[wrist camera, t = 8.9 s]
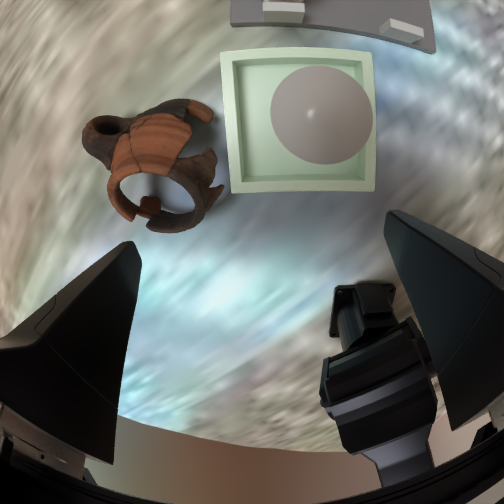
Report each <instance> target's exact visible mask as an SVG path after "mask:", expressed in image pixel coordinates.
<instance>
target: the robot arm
mask: <svg viewBox="0 0 504 504" xmlns="http://www.w3.org/2000/svg"><path fill="white" fill-rule="evenodd" d="M384 237H385V240H386V243H387V245H388V248H389V251H390V253H391V256H392V259H393V262H394V265H395V267H396V270H397V272H398V275H399V277H400V279H401V281H402V284H403V286H404V288H405V290H406V293H407V295H408V297H409V300H410V302H411V304H412V307H413V309H414V312H415V314H416V317H417V319H418V322H419V324H420V327H421V329H422V332H423V335H424V337H423V335H422V334H421V332H420V330H419V329H418V327H417V325H416V324H415V322H414V320H413V319H412V317H411V316H410V317H408V318H406V320H405V321H403V322H401V323H400V324H399V322H398V320H397V318H396V316H395V314H394V312H393V308H392V303H393V299H394V295H395V291H396V288H395V286H394V285H393V284H368V285H356V286H339V287H336V288H335V290H334V297H333V306H332V314H331V321H330V328H329V335H330V337H333V338H334V337H340V340H341V345H342V350H343V352H342V353H339V354H337V355H335V356H333V357H328V358H326V359H324V360H323V367H322V375H321V383H320V390H319V395H320V397H321V400H320V404H321V406H322V407H324V408H325V410H326V412H327V413H328V415H329V416H330V418H331V419H333V420H335V421H336V424H337V427H338V430H339V434H340V438H341V442H342V445H343V447H344V448H345V449H346V450H347V451H348V452H349V453H350V454H351V455H356V454H359V453H361V454H362V455H364V456H365V457H366V458H368V459H369V460H371V461H373V462H374V463H375V465H376V469H377V472H378V475H379V479H380V482H381V486H382V488H379V489H376V490H372V491H369V492H366V493H361V494H358V495H353V496H350V497H345V498H341V499H336V500H330V501H325V502H319V503H313V504H504V263H503V262H501V261H499V260H498V259H496V258H494V257H492V256H490V255H488V254H486V253H485V252H483V251H481V250H479V249H477V248H475V247H473V246H472V245H470V244H468V243H466V242H464V241H462V240H460V239H458V238H456V237H455V236H453V235H451V234H449V233H447V232H445V231H443V230H441V229H439V228H436V227H434V226H432V225H430V224H428V223H426V222H424V221H422V220H420V219H417V218H415V217H413V216H411V215H409V214H406V213H404V212H402V211H399V210H389V211H388V212H387V214H386V219H385V226H384ZM141 268H142V260H141V257H140V255H139V253H138V250H137V248H136V245H135V243H134V242H133V241H126V242H122V243H121V244H119V245H118V246H116V247H115V248H114V249H112V250H111V251H110V252H108V253H107V254H106V255H104V256H103V257H102V258H100V259H99V260H98V261H96V262H95V263H94V264H93V265H91V266H90V267H89V268H87V269H86V270H85V271H84V272H82V273H81V274H80V275H79V276H77V277H76V278H75V279H74V280H72V281H71V282H70V283H69V284H67V285H66V286H65V287H64V288H63V289H61V290H60V291H59V292H58V293H57V295H54V296H53V297H52V298H51V299H50V300H48V301H47V302H46V303H45V304H44V305H42V306H41V307H40V308H39V309H38V310H36V311H35V312H34V313H33V314H32V315H30V316H29V317H28V318H27V319H25V320H24V321H23V322H22V323H21V324H19V325H18V326H17V327H16V328H15V329H13V330H12V331H11V332H10V333H9V334H7V335H6V336H4V337H2V338H0V504H173V503H167V502H161V501H155V500H150V499H145V498H141V497H136V496H132V495H128V494H124V493H121V492H117V491H114V490H110V489H107V488H104V487H101V486H98V485H97V483H96V482H95V480H94V479H93V477H92V475H91V474H90V472H89V470H88V469H87V468H84V465H85V459H86V458H89V459H92V460H95V461H99V462H102V463H106V464H110V465H113V462H114V447H115V433H116V423H117V413H118V409H117V408H118V403H119V396H120V388H121V381H122V375H123V368H124V362H125V357H126V351H127V346H128V340H129V335H130V330H131V325H132V321H133V316H134V312H135V307H136V302H137V297H138V290H139V282H140V275H141ZM391 288H392V289H391ZM390 289H391V290H390ZM338 291H341V292H340V293H338ZM424 338H425V339H424ZM425 340H426V341H425ZM435 376H437V377H438V380H439V384H440V387H441V391H442V394H443V398H444V402H445V406H446V410H447V414H448V418H449V422H450V427H451V430H452V431H455V430H457V429H459V428H460V427H462V426H464V425H466V424H468V423H470V422H472V421H474V420H475V419H477V418H479V417H481V416H482V415H484V414H486V413H488V412H489V415H490V418H491V422H489V423H488V424H486V425H484V426H483V427H482V428H480V429H479V430H477V433H476V436H475V438H474V441H473V443H472V446H471V448H470V450H468V451H466V452H464V453H463V454H461V455H459V456H457V457H455V458H453V459H451V460H449V461H447V462H445V463H443V464H441V465H439V466H437V467H435V465H434V461H433V457H432V453H431V449H430V446H429V442H428V438H429V434H430V431H431V427H432V424H433V423H434V422H435V417H436V412H437V404H438V400H437V397H436V394H435V391H434V388H433V385H432V382H431V379H432V378H433V377H435Z"/></svg>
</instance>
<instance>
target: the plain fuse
mask: <svg viewBox="0 0 504 504" xmlns="http://www.w3.org/2000/svg"><path fill="white" fill-rule="evenodd" d="M261 1H262V2H289V3H303V2H304V1H305V0H261Z"/></svg>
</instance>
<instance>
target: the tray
mask: <svg viewBox="0 0 504 504" xmlns="http://www.w3.org/2000/svg"><path fill="white" fill-rule="evenodd" d="M220 62H221V75H222V88H223V101H224V114H225V126H226V138H227V149H228V161H229V172H230V183H231V193H232V194H234V193H255V192H286V191H367V192H374V191H375V171H376V107H375V88H374V75H373V64H372V54H371V52H363V51H355V50H345V49H332V48H312V47H280V48H259V49H246V50H236V51H227V52H220ZM317 65H321V66H329V67H333V68H336V69H339V70H341V71H343V72H345V73H347V74H348V75H350V76H351V77H353V78H354V79H355V80H356V81H357V82H358V83H359V84H360V85H361V86H362V88H363V89H364V91H365V92H366V94H367V96H368V98H369V100H370V103H371V106H372V111H373V125H372V130H371V134H370V136H369V138H368V141H367V142H366V144H365V145H364V147H363V148H362V149H361V150H360V151H359V152H358V153H357V154H356V155H354V156H353V157H351V158H350V159H348V160H345V161H343V162H340V163H336V164H329V165H322V164H314V163H310V162H307V161H304V160H302V159H300V158H298V157H297V156H295V155H293V154H292V153H291V152H290V151H288V150H287V149H286V148H285V147H284V146H283V144H282V143H281V142H280V141H279V139H278V137H277V136H276V134H275V131H274V129H273V126H272V123H271V117H270V107H271V101H272V97H273V95H274V92H275V90H276V88H277V87H278V85H279V84H280V83H281V82H282V80H283V79H284V78H286V77H287V76H288V75H289V74H291V73H292V72H294V71H296V70H298V69H301V68H304V67H308V66H317Z"/></svg>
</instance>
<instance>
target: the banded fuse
mask: <svg viewBox="0 0 504 504" xmlns="http://www.w3.org/2000/svg"><path fill="white" fill-rule="evenodd" d="M270 117H271V123H272V126H273V129H274V131H275V134H276V136H277V137H278V139H279V141H280V142H281V143H282V144H283V146H284V147H285V148H286V149H287V150H288V151H290V152H291V153H292V154H293V155H295V156H297V157H298V158H300V159H302V160H304V161H307V162H310V163H314V164H322V165H329V164H336V163H340V162H343V161H345V160H348V159H350V158H351V157H353V156H354V155H356V154H357V153H358V152H359V151H360V150H361V149H362V148H363V147H364V145H365V144H366V142H367V141H368V138H369V136H370V134H371V130H372V125H373V111H372V106H371V103H370V100H369V98H368V96H367V94H366V92H365V91H364V89H363V88H362V86H361V85H360V84H359V83H358V82H357V81H356V80H355V79H354V78H353V77H351V76H350V75H348V74H347V73H345V72H343V71H341V70H339V69H336V68H333V67H329V66H321V65H317V66H308V67H304V68H301V69H298V70H296V71H294V72H292V73H291V74H289V75H288V76H287V77H286V78H284V79H283V80H282V82H281V83H280V84H279V85H278V87H277V88H276V90H275V92H274V95H273V97H272V101H271V107H270Z"/></svg>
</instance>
